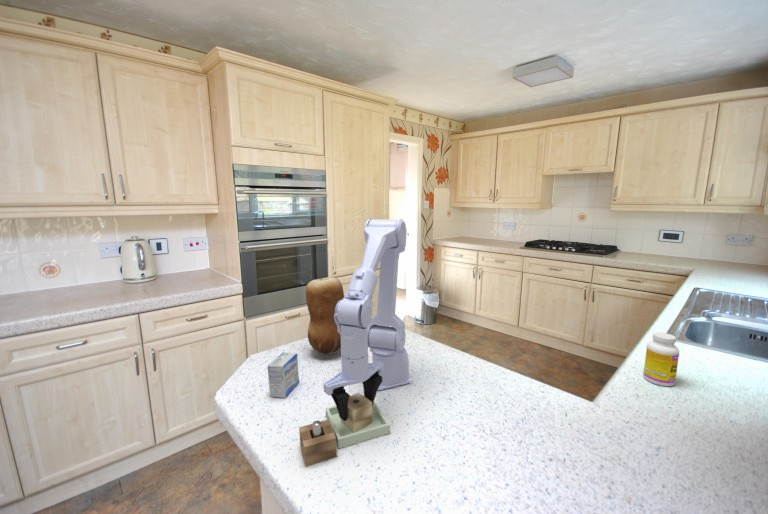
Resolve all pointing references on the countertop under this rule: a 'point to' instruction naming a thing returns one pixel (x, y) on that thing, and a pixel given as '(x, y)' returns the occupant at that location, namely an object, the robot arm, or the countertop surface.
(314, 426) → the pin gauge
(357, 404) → the block
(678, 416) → the countertop surface
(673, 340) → the supplement bottle
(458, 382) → the countertop surface
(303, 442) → the slotted wooden block
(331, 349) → the butternut squash
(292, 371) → the medicine box
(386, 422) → the tray
